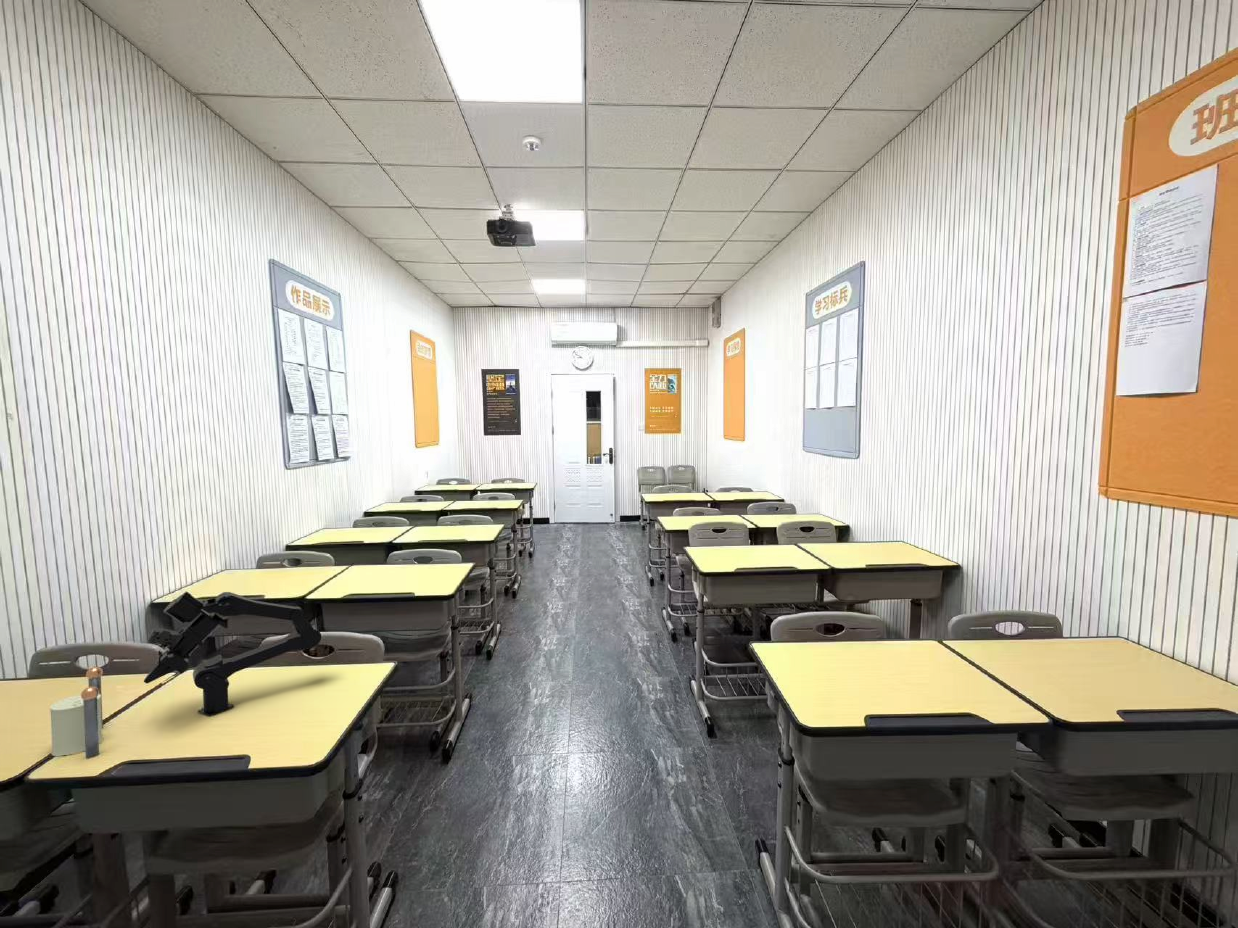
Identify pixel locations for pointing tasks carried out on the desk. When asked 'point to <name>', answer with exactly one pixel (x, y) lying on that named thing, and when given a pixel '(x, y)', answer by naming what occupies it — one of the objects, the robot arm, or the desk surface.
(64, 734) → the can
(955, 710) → the desk surface
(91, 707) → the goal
